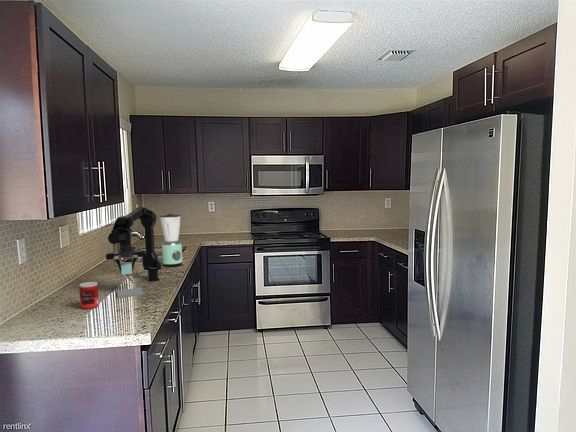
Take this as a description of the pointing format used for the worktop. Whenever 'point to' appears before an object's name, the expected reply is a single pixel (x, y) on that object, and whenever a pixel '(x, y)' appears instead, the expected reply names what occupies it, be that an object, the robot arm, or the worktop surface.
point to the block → (126, 268)
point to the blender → (171, 240)
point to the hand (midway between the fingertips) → (126, 271)
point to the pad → (129, 292)
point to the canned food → (89, 295)
